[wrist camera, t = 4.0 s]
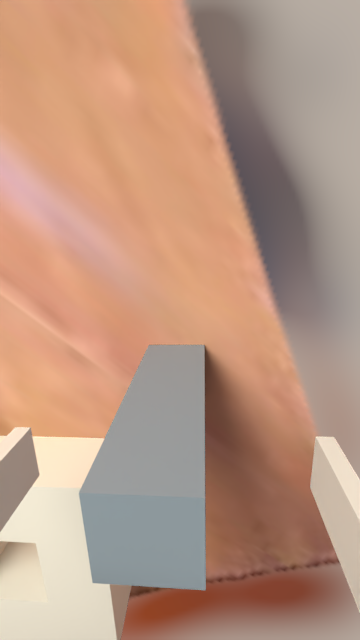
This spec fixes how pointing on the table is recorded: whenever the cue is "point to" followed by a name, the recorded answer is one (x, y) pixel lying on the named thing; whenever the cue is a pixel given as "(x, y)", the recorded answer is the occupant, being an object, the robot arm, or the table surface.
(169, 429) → the peg
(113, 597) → the socket block
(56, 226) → the table surface
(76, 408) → the table surface
